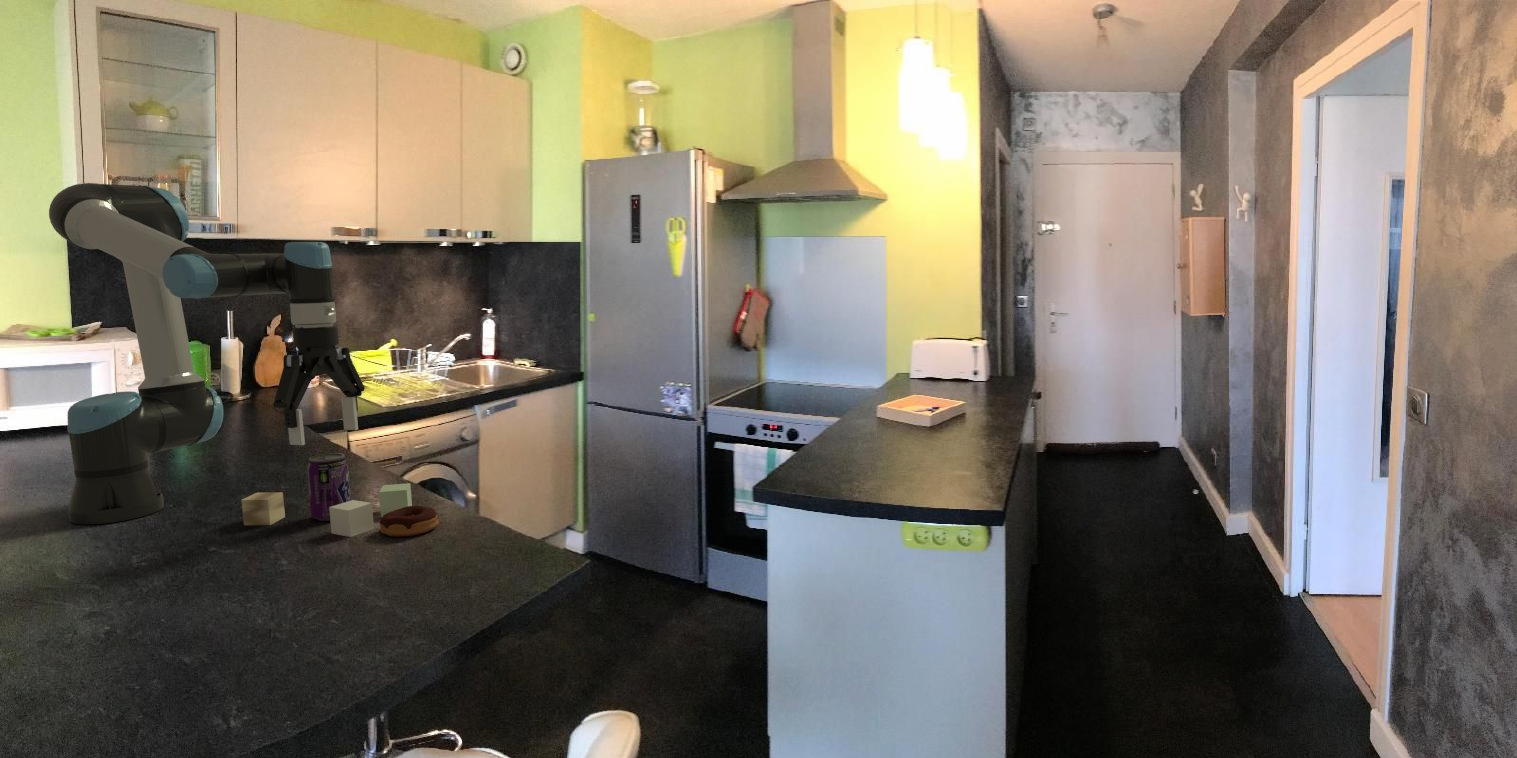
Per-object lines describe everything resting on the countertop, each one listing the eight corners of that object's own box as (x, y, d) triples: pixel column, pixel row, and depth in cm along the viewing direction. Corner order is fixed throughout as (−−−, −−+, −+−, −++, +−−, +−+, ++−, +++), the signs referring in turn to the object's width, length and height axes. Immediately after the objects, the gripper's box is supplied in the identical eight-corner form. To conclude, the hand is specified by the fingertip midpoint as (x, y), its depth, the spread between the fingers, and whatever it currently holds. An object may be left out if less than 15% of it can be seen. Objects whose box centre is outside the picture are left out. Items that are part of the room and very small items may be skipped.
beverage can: (335, 523, 162) (330, 461, 160) (302, 522, 163) (297, 460, 161) (360, 512, 168) (355, 453, 167) (328, 510, 170) (323, 451, 168)
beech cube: (244, 525, 161) (241, 500, 161) (259, 517, 166) (257, 492, 166) (270, 525, 161) (267, 499, 161) (285, 517, 166) (282, 492, 166)
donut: (425, 519, 165) (424, 499, 164) (448, 530, 158) (447, 509, 157) (371, 531, 158) (370, 510, 157) (393, 544, 151) (391, 522, 150)
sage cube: (380, 517, 166) (378, 492, 165) (385, 509, 171) (383, 485, 170) (408, 514, 167) (406, 490, 166) (412, 507, 172) (410, 483, 171)
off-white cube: (331, 533, 156) (329, 507, 155) (355, 525, 161) (352, 500, 160) (350, 537, 154) (348, 510, 153) (373, 529, 158) (371, 503, 158)
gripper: (277, 331, 147) (289, 452, 150) (377, 320, 171) (386, 424, 174) (242, 331, 149) (255, 450, 152) (346, 320, 173) (355, 423, 176)
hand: (325, 437), depth 163 cm, fingers open, 13 cm apart
